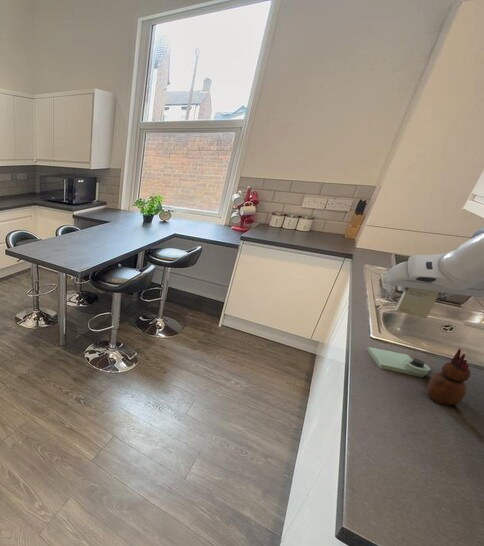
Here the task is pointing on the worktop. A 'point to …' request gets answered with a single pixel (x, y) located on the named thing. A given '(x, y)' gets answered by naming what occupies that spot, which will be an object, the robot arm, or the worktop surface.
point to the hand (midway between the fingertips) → (419, 291)
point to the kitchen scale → (397, 362)
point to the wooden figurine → (450, 381)
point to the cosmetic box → (417, 302)
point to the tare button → (417, 363)
